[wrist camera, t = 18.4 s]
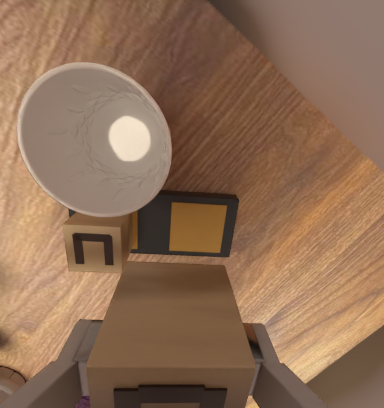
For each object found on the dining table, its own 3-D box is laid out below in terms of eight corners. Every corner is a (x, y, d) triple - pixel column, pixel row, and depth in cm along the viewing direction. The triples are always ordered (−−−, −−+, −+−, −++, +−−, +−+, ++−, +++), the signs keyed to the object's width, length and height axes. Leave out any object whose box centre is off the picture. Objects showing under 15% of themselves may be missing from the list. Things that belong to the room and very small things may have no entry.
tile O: (126, 260, 10) (83, 369, 5) (224, 264, 10) (258, 370, 6) (128, 333, 11) (95, 463, 7) (213, 335, 12) (232, 459, 7)
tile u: (85, 203, 21) (61, 224, 17) (132, 206, 21) (120, 227, 17) (89, 243, 23) (68, 272, 18) (133, 245, 23) (122, 274, 19)
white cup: (150, 74, 19) (121, 27, 10) (189, 156, 22) (196, 183, 12) (74, 115, 20) (-21, 109, 10) (120, 189, 22) (78, 238, 13)
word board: (72, 183, 22) (64, 188, 20) (235, 194, 23) (239, 200, 22) (79, 243, 24) (72, 251, 23) (226, 250, 26) (229, 258, 24)
